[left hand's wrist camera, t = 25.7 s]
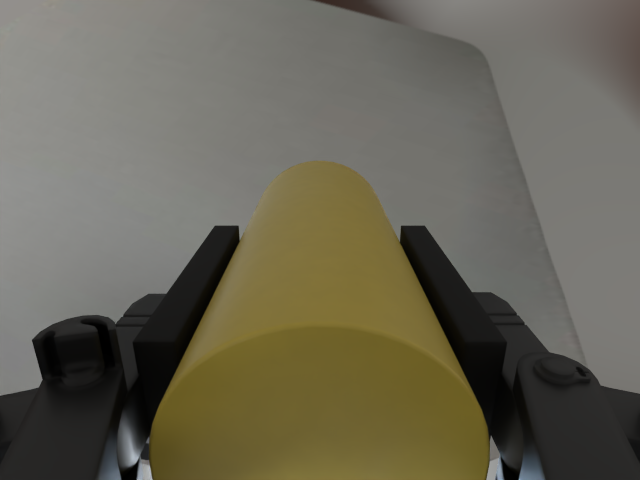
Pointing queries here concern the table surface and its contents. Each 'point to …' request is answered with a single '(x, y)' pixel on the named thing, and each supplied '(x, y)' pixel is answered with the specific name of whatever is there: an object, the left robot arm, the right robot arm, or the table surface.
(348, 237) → the cylinder
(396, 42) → the table surface
